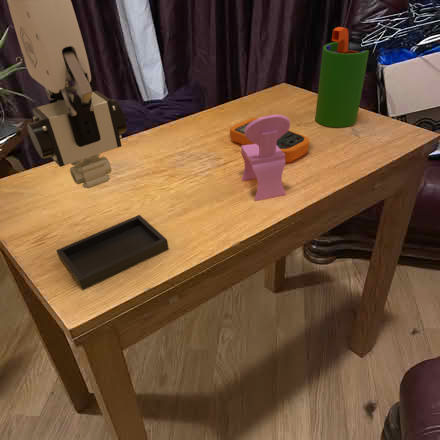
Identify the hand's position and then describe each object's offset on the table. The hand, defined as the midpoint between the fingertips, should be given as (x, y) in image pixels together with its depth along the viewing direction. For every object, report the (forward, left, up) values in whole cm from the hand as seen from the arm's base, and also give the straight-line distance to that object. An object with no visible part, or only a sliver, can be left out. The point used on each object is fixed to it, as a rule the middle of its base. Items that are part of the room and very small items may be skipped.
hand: (79, 133), depth 57 cm
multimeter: (+23, +40, -21) cm, 51 cm away
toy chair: (+23, +23, -21) cm, 39 cm away
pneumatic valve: (0, 0, -7) cm, 7 cm away
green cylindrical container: (+38, +55, -21) cm, 70 cm away
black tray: (0, 0, -21) cm, 21 cm away
